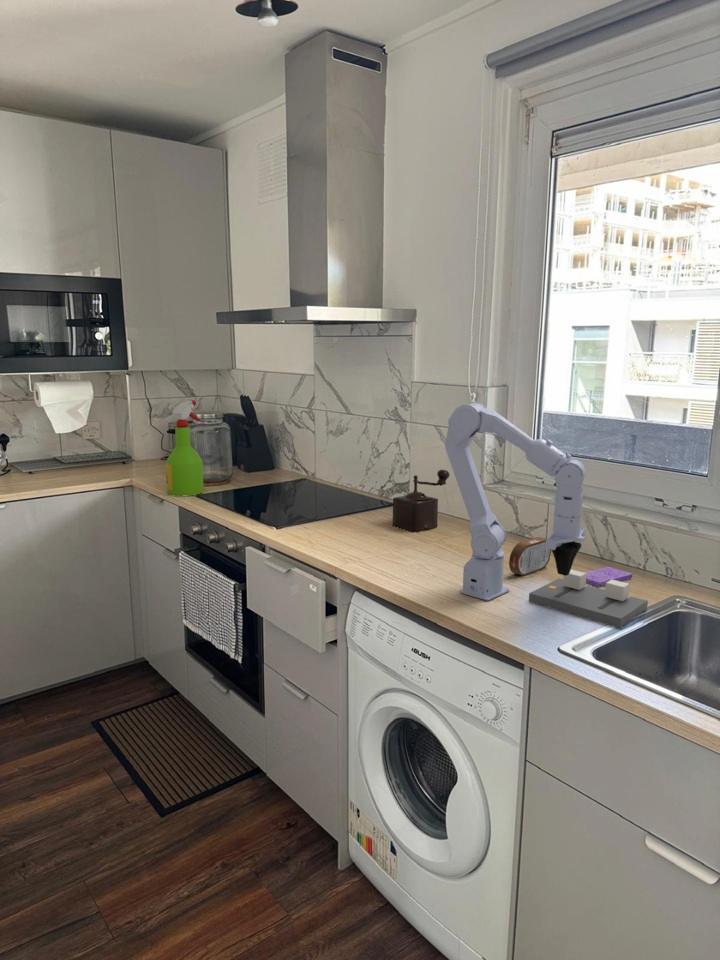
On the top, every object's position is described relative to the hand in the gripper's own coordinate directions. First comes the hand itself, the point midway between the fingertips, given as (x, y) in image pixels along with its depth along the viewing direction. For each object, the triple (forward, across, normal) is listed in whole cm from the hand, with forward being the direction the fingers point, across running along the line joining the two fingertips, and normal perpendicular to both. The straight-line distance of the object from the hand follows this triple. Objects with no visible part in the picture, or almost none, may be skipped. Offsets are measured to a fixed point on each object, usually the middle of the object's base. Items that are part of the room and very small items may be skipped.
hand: (563, 574), depth 154 cm
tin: (+7, +14, +16) cm, 22 cm away
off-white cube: (+4, +6, 0) cm, 7 cm away
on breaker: (+4, +6, -10) cm, 12 cm away
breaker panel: (+6, +2, -5) cm, 9 cm away
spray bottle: (+8, +7, +160) cm, 160 cm away
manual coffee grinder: (+7, +30, +64) cm, 71 cm away
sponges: (+7, +22, 0) cm, 23 cm away
